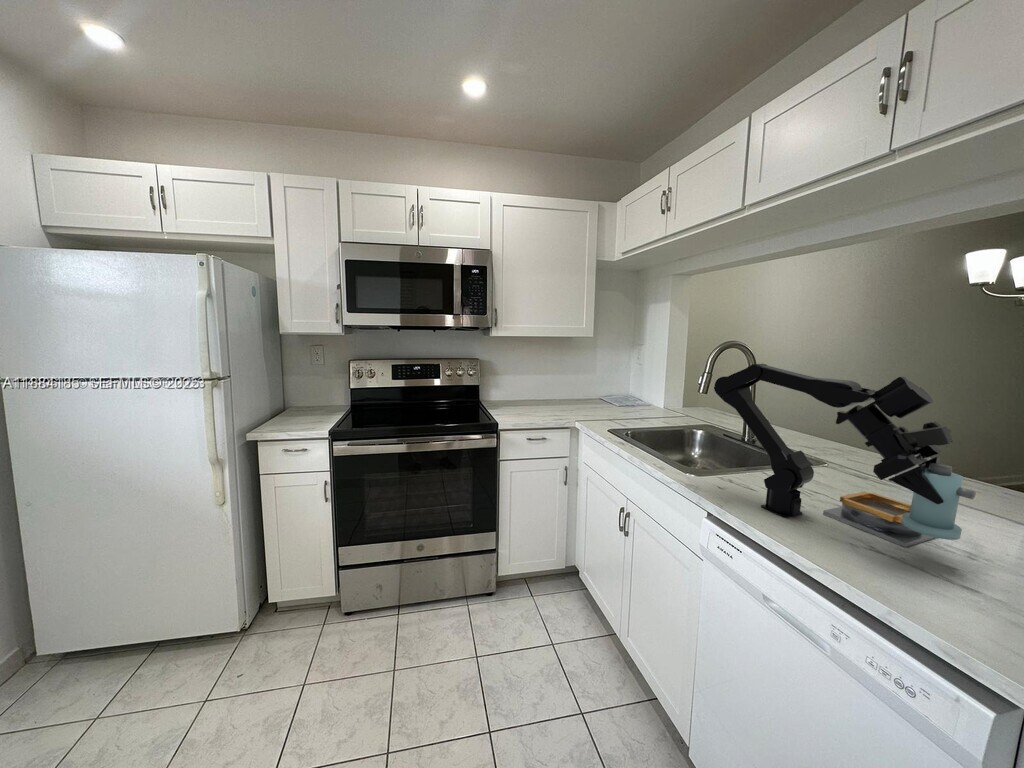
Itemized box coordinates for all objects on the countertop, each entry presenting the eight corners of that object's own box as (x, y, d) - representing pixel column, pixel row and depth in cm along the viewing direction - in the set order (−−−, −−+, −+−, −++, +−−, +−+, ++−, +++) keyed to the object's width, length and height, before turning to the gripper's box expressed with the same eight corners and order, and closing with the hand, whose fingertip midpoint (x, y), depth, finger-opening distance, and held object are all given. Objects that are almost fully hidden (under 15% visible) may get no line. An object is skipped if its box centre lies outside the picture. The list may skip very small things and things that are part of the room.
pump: (892, 523, 79) (902, 461, 78) (914, 516, 82) (924, 457, 80) (953, 545, 71) (966, 476, 69) (975, 537, 74) (988, 471, 72)
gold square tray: (823, 514, 98) (825, 494, 97) (857, 506, 103) (860, 487, 102) (905, 547, 83) (909, 524, 82) (941, 536, 88) (945, 514, 87)
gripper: (905, 413, 72) (986, 491, 65) (934, 405, 82) (1007, 472, 74) (846, 443, 80) (912, 517, 72) (879, 432, 90) (940, 496, 82)
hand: (945, 499), depth 75 cm, fingers closed on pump, 6 cm apart
